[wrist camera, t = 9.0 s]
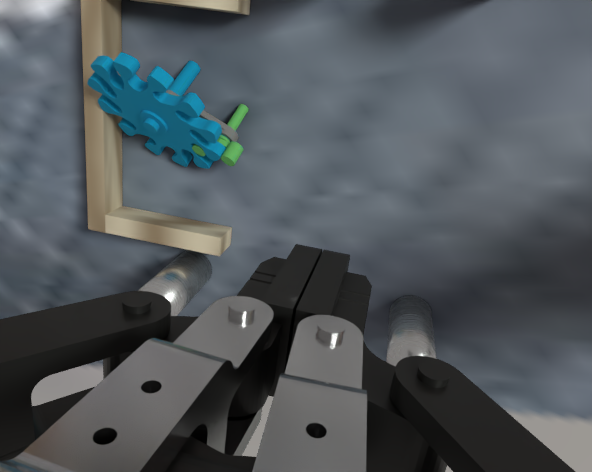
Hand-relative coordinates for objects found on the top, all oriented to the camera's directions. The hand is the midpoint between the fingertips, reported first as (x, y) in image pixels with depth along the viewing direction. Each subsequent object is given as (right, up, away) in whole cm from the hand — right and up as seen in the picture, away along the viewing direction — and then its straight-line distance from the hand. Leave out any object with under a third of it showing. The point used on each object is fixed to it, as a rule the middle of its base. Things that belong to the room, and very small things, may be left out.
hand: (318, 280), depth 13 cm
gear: (-9, +10, +23) cm, 27 cm away
